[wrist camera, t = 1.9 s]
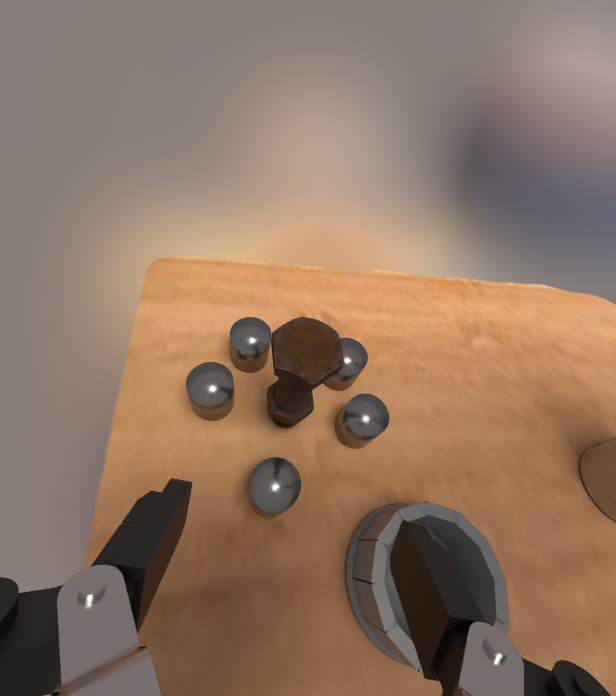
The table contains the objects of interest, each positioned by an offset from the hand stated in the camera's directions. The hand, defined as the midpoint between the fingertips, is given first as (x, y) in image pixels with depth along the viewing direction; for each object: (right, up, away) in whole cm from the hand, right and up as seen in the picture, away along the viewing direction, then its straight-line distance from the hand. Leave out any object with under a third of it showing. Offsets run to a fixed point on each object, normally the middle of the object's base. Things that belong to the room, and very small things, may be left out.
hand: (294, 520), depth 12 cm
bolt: (-2, -1, +24) cm, 24 cm away
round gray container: (+10, -15, +18) cm, 25 cm away
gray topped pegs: (-2, 0, +25) cm, 25 cm away
